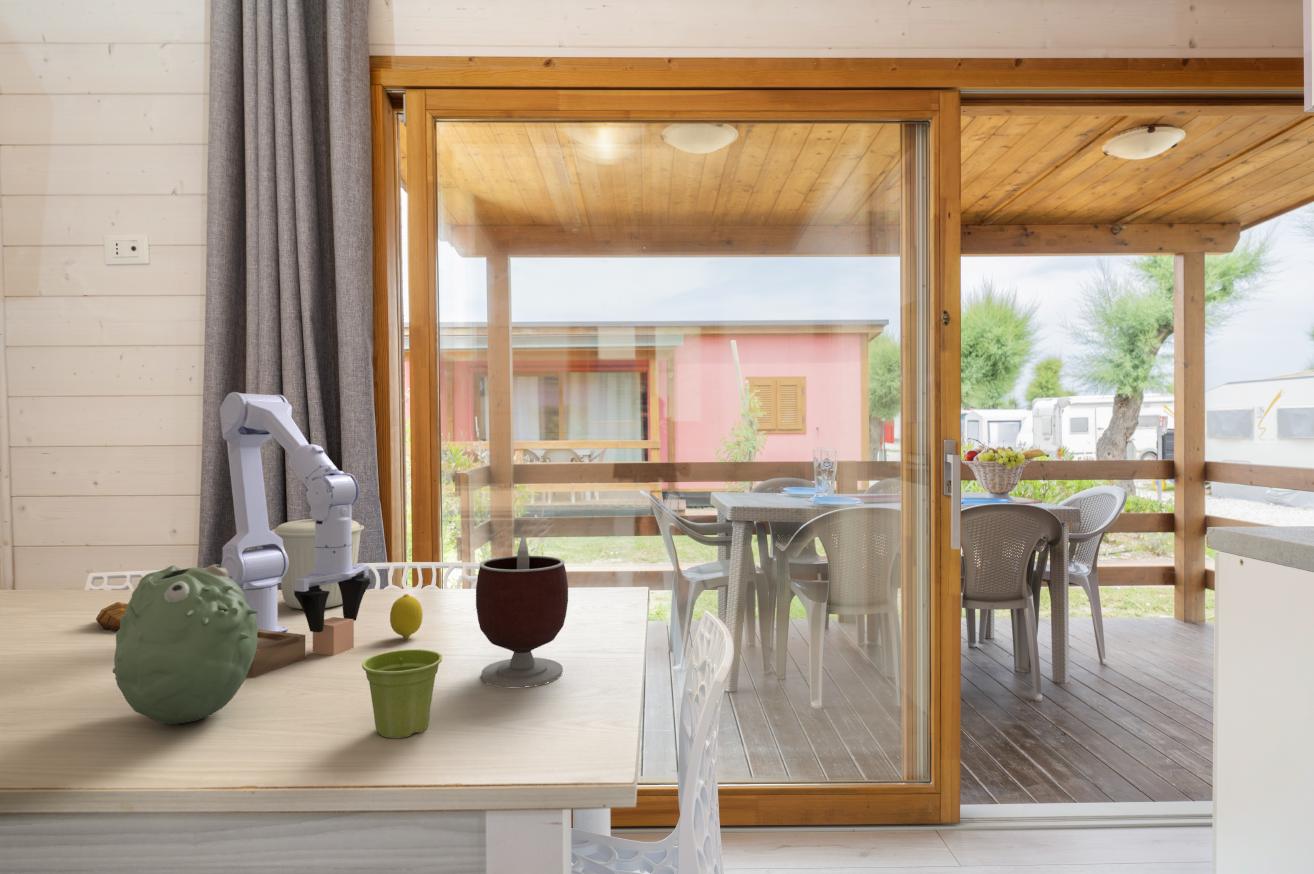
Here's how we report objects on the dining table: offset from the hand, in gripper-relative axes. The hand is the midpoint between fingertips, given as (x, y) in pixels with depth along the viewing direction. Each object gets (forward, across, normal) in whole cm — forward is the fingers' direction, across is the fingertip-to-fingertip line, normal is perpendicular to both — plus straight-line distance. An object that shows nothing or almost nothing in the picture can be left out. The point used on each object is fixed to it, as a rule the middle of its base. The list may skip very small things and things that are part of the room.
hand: (333, 625), depth 123 cm
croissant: (+4, -2, +50) cm, 50 cm away
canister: (+4, +25, +28) cm, 38 cm away
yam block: (+4, 0, 0) cm, 4 cm away
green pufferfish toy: (+4, -30, -5) cm, 31 cm away
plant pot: (+5, -23, -33) cm, 40 cm away
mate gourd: (+5, +1, -36) cm, 36 cm away
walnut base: (+4, -10, +6) cm, 12 cm away
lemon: (+4, +10, -7) cm, 13 cm away
